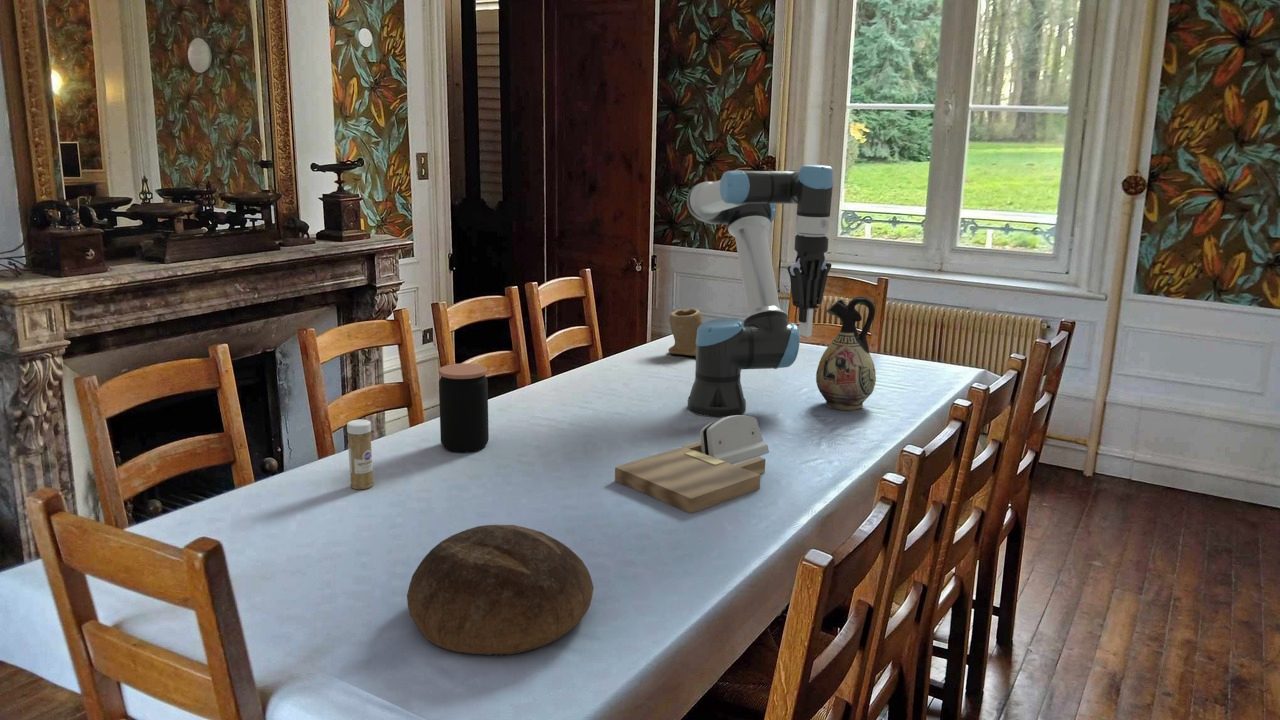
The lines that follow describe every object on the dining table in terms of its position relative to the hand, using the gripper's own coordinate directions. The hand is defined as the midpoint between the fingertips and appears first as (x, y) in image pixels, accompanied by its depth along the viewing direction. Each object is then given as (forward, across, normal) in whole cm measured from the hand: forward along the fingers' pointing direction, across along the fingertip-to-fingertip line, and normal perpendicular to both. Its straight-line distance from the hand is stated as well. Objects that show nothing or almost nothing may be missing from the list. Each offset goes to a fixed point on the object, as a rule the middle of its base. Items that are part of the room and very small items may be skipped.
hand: (804, 335), depth 223 cm
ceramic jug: (+25, +28, +8) cm, 39 cm away
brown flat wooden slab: (+24, -40, -8) cm, 47 cm away
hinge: (+25, -24, -1) cm, 34 cm away
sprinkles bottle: (+24, -97, +30) cm, 104 cm away
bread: (+23, -102, -31) cm, 109 cm away
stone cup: (+26, +33, +74) cm, 85 cm away
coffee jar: (+25, -68, +40) cm, 83 cm away
